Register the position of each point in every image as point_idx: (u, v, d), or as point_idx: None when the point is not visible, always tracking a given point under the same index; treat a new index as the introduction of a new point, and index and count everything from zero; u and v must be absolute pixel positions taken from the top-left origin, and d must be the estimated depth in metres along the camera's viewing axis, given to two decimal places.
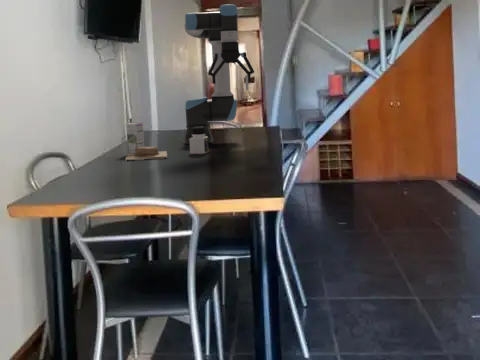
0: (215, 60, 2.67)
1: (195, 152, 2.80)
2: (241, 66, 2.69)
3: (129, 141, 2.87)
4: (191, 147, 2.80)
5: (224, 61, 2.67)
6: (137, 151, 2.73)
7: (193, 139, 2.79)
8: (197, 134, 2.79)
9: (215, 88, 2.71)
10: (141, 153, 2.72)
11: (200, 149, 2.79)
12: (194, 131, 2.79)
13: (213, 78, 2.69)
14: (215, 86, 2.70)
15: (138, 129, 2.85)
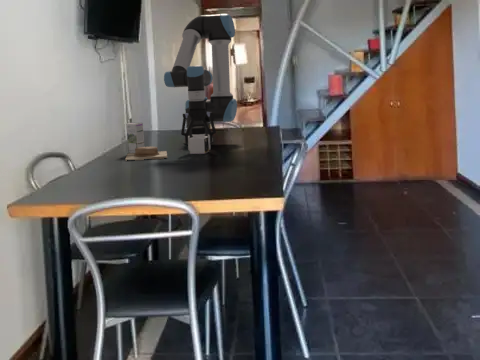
0: (184, 120, 2.79)
1: (195, 152, 2.80)
2: (205, 125, 2.81)
3: (129, 141, 2.87)
4: (191, 147, 2.80)
5: (192, 120, 2.79)
6: (137, 151, 2.73)
7: (193, 139, 2.79)
8: (197, 134, 2.79)
9: (188, 147, 2.83)
10: (141, 153, 2.72)
11: (200, 149, 2.79)
12: (194, 131, 2.79)
13: (186, 138, 2.81)
14: (188, 145, 2.82)
15: (138, 129, 2.85)
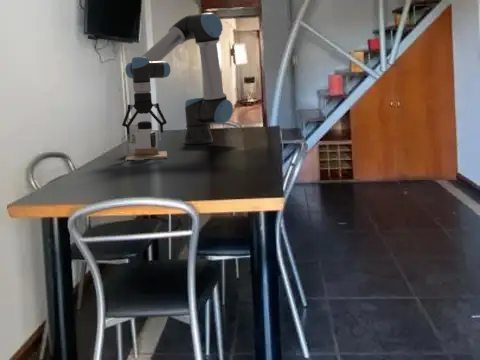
0: (128, 111, 2.71)
1: (141, 147, 2.73)
2: None
3: (129, 141, 2.87)
4: (137, 142, 2.73)
5: (137, 112, 2.71)
6: (137, 151, 2.73)
7: (139, 134, 2.72)
8: (143, 129, 2.71)
9: None
10: (141, 153, 2.72)
11: (146, 144, 2.72)
12: (140, 126, 2.72)
13: (127, 129, 2.73)
14: (130, 137, 2.74)
15: None
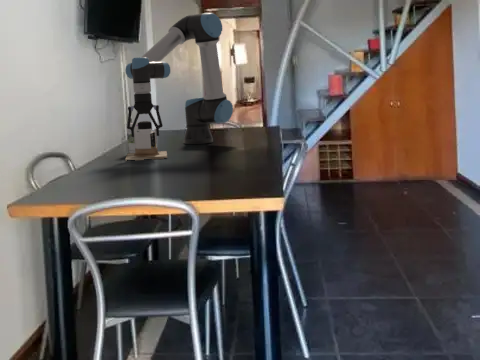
0: (129, 113, 2.71)
1: (141, 147, 2.73)
2: (151, 119, 2.73)
3: (129, 141, 2.87)
4: (137, 142, 2.73)
5: (138, 113, 2.71)
6: (137, 151, 2.73)
7: (139, 134, 2.72)
8: (143, 129, 2.72)
9: None
10: (141, 153, 2.72)
11: (146, 144, 2.72)
12: (140, 126, 2.72)
13: (132, 132, 2.73)
14: (134, 139, 2.75)
15: None
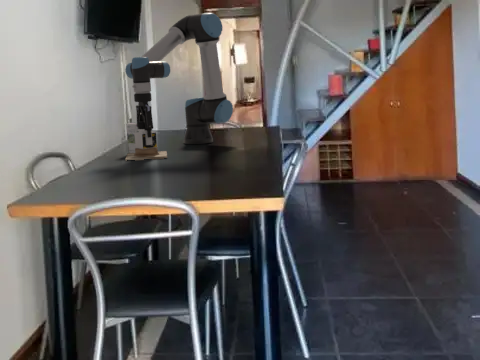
0: None
1: (138, 147, 2.75)
2: (144, 119, 2.71)
3: (129, 141, 2.87)
4: (135, 141, 2.75)
5: (138, 112, 2.74)
6: (137, 151, 2.73)
7: (136, 133, 2.74)
8: (139, 129, 2.72)
9: None
10: (141, 153, 2.72)
11: (140, 144, 2.72)
12: None
13: None
14: None
15: None
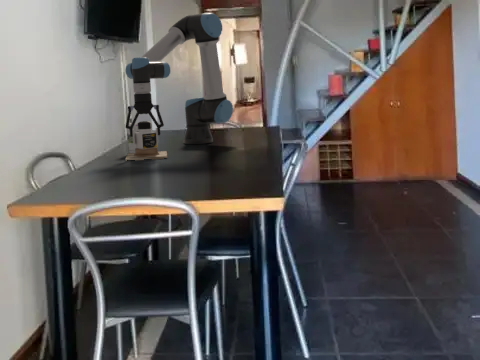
0: (129, 113, 2.71)
1: (138, 147, 2.75)
2: (152, 118, 2.73)
3: (129, 141, 2.87)
4: (135, 141, 2.75)
5: (138, 113, 2.71)
6: (137, 151, 2.73)
7: (136, 134, 2.74)
8: (139, 129, 2.72)
9: None
10: (141, 153, 2.72)
11: (140, 144, 2.72)
12: (138, 125, 2.73)
13: (130, 131, 2.73)
14: (133, 139, 2.75)
15: None
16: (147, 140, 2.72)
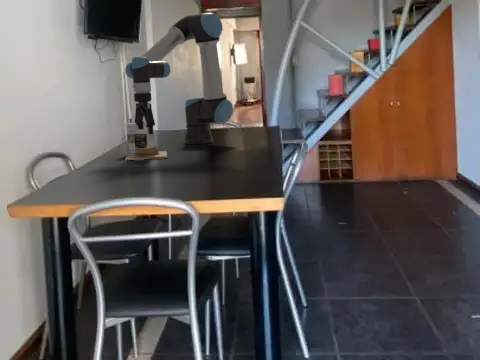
0: (136, 110, 2.78)
1: None
2: None
3: (129, 141, 2.87)
4: None
5: (137, 111, 2.75)
6: (137, 151, 2.73)
7: None
8: None
9: None
10: (141, 153, 2.72)
11: None
12: None
13: (137, 126, 2.81)
14: None
15: None
16: (138, 140, 2.73)
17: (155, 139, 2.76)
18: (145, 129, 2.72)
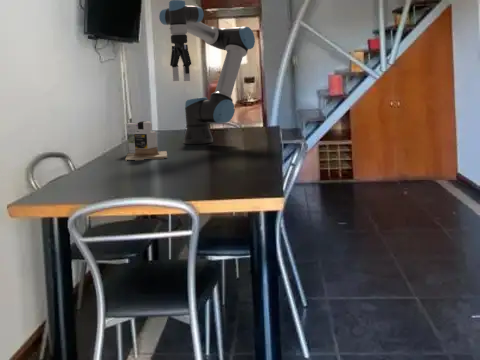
0: (172, 52, 2.92)
1: None
2: (181, 58, 2.82)
3: (129, 141, 2.87)
4: None
5: (174, 53, 2.88)
6: (137, 151, 2.73)
7: None
8: None
9: None
10: (141, 153, 2.72)
11: None
12: None
13: (173, 69, 2.94)
14: None
15: None
16: (138, 140, 2.73)
17: (155, 139, 2.76)
18: (145, 129, 2.72)
